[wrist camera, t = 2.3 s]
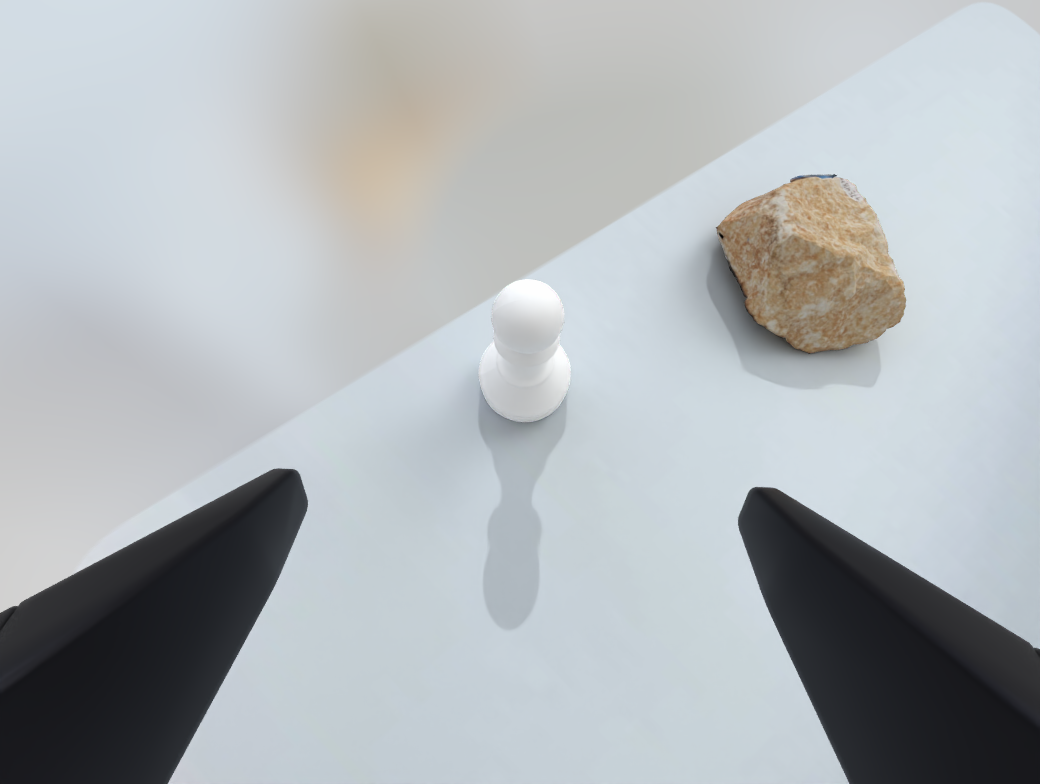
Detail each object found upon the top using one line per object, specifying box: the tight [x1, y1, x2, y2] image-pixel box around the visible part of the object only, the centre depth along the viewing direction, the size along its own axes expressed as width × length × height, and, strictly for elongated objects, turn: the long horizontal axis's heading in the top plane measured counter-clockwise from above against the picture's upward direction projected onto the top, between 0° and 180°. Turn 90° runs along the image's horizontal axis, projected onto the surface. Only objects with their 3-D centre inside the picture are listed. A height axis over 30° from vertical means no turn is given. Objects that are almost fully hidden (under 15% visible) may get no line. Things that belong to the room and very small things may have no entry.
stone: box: [716, 175, 906, 354], centre depth 22 cm, size 8×10×4 cm
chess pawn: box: [479, 279, 571, 422], centre depth 18 cm, size 5×5×9 cm
